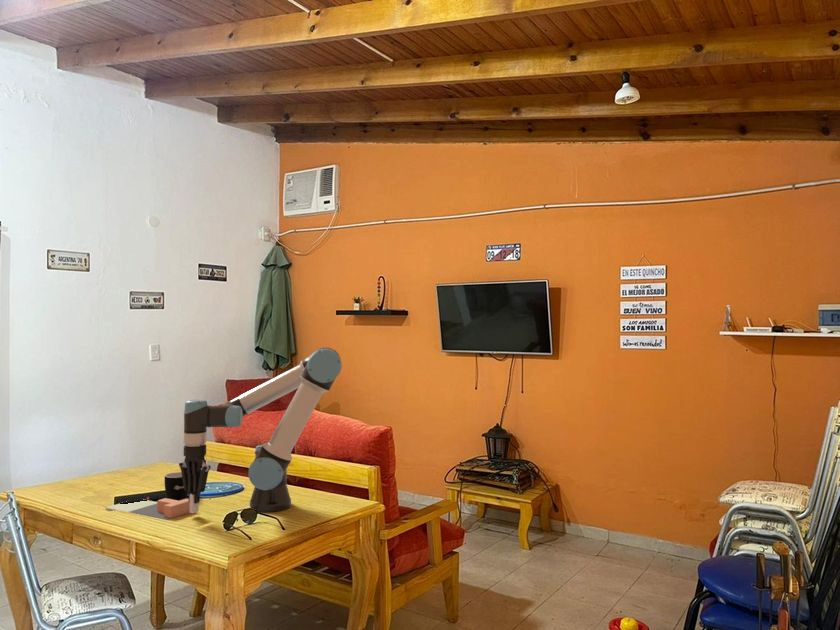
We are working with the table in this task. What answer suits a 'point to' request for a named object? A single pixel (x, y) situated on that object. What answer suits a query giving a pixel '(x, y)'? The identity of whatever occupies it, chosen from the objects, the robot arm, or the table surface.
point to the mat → (141, 509)
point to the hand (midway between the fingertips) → (193, 511)
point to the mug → (175, 486)
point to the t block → (173, 507)
